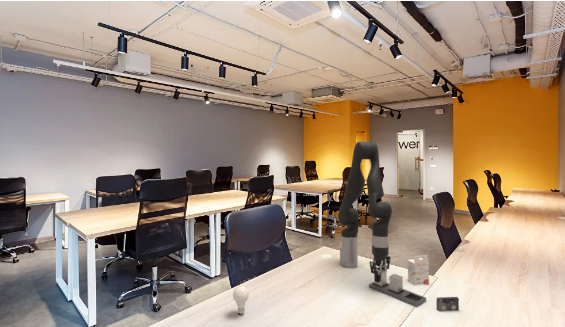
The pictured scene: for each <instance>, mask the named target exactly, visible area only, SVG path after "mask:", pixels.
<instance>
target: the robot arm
mask: <svg viewBox="0 0 565 327" xmlns="http://www.w3.org/2000/svg"><path fill="white" fill-rule="evenodd" d="M379 155H380V154H379V147H378V144H377V143H376V142H374V141H357V142H356V143H355V145H354V148H353V153H352V159H351V164H350V165H351V167H350V170H349V176H348V177H347V178H348V179H347V182H346V186H345V191H344V195H343V199H342V202H341V205H340V206H339V209H338V214H337V219H338V220H337V221H338V223H339V224H340V225H342V226H346V225H347V227H345V228H344V229H342V230H341V232H340V233H341V235H340V238H341V241H340V242H341V244H340V248H339V264H340V265H341V266H342V267H344V268H349V269H352V268H353V269H354V268H357V267H358V265H359V263H358V262H359V259H358V252H359V251H358V233H359V221H360V217H359V216H360V215H359V211H358V210H357V209H356V208H355V207H354V208H353V207H352V205H354V203H355V202H356V201H357V200H358V199H359V198H360V197H361V196H362V194H363V192H364V188H365V185H366V187H367V188H366V189H367V193H368V208H367V211H368V214H369V216H370V217H371V218H374V219H375V218H376V219H377V218H378V219H379V218H380V219H379V220H378V221H375V222H373V223H372V226H371V228H372V229H371V232H372V234H371V254H372V255H373V260H370V261H369V268H370V273H371V274H373V278H374V280H375V282H380V276H379V273H380V270H381V269H383V270H386V271H388V270H389V269H390V263H391V256H389V254H390V252H389V251H390V250H389V246H390V245H389V244H390V243H389V242H390V241H389V225H390V221H391V218H392V213H393V210H392V209H393V208H392V206H391V204H390V203H389V202H387V201H386V202H377V200H378V199H382V198H383V197H384V196H385V192H384V188H383V183H382V179H381V169H380V156H379ZM363 160H369V161H370V169H369V172H368V173H367V177H366V180H365V176H364V173H363V172H362V168H361V166H362V161H363ZM377 269H378V271H377ZM374 280H373V281H374Z"/></svg>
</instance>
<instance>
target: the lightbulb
mask: <svg viewBox="0 0 565 327" xmlns="http://www.w3.org/2000/svg"><path fill="white" fill-rule="evenodd" d="M249 296H250V292H249V289H248V288H247V287H246V286H244V285H238V286H237V287H236V288H234V290H233V293H232V298H233V300H234V301H235V303H236V306H237V314H239V313H240V314H239V315H243V314H244V313H245V306H246V302H248V299H249Z"/></svg>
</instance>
